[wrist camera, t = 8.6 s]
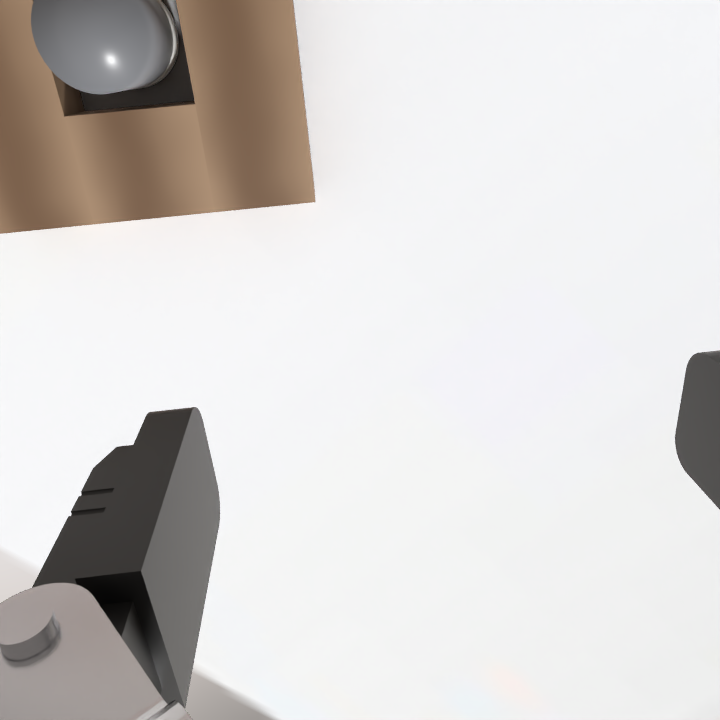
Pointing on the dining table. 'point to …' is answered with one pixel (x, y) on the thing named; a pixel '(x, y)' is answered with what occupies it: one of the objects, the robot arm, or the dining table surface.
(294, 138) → the end holder
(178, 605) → the robot arm
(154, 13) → the connector plug
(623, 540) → the dining table surface
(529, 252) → the dining table surface
